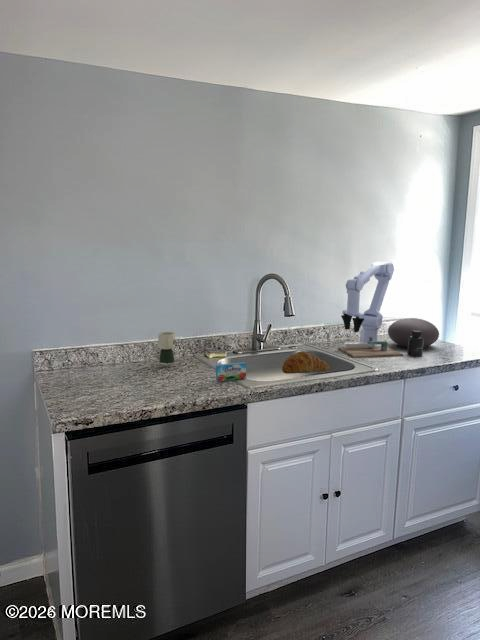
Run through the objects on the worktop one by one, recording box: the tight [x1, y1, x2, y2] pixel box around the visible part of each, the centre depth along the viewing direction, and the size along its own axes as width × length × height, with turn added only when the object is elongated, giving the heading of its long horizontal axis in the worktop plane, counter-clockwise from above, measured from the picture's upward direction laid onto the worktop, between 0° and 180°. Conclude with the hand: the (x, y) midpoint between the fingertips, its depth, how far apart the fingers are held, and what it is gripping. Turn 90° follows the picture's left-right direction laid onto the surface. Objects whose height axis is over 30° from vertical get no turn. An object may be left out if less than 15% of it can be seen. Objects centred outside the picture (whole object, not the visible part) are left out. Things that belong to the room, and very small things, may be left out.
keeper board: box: [338, 340, 404, 359], centre depth 226 cm, size 18×25×5 cm
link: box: [343, 337, 374, 349], centre depth 230 cm, size 15×4×5 cm, turn 100°
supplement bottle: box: [406, 330, 424, 358], centre depth 220 cm, size 7×7×12 cm
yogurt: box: [215, 361, 247, 383], centre depth 177 cm, size 12×2×6 cm, turn 114°
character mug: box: [157, 331, 176, 365], centre depth 199 cm, size 11×7×13 cm, turn 19°
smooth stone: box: [387, 317, 440, 348], centre depth 240 cm, size 25×25×15 cm
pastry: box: [281, 350, 331, 375], centre depth 192 cm, size 21×13×8 cm, turn 111°
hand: (351, 330), depth 231 cm, fingers open, 7 cm apart
